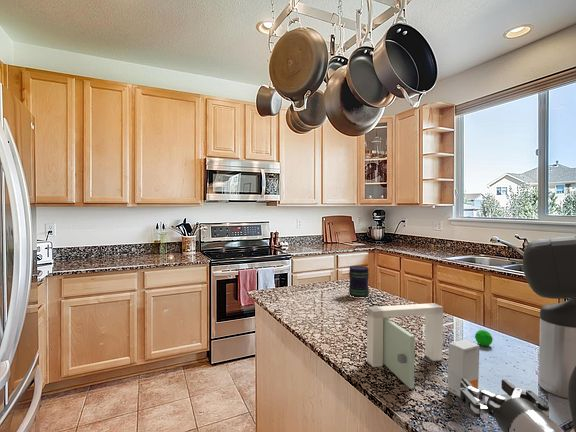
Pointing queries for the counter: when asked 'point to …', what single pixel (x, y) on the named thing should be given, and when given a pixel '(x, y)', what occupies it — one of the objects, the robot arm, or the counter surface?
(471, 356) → the skincare box
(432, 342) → the door frame
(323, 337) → the counter surface
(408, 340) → the door
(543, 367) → the robot arm
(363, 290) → the storage jar
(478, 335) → the polyhedron
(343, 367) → the counter surface
